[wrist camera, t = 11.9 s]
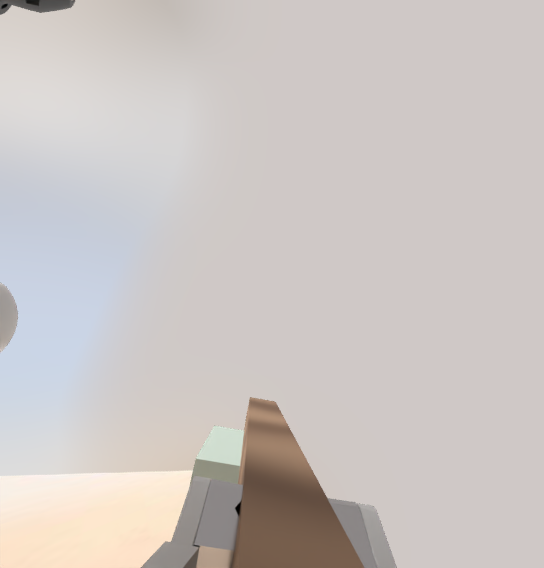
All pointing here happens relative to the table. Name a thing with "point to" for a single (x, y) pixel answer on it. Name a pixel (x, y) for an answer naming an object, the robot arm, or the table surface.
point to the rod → (284, 502)
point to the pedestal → (220, 455)
